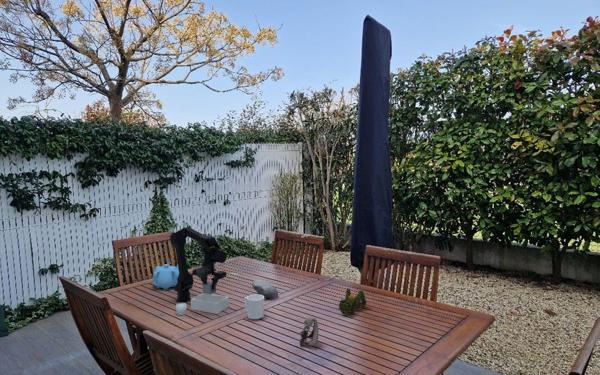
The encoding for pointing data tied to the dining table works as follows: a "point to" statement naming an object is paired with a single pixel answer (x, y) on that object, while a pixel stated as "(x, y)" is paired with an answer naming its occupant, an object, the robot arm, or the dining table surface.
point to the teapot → (165, 276)
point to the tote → (210, 303)
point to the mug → (255, 306)
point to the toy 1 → (314, 333)
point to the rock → (265, 289)
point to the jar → (180, 309)
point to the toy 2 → (352, 302)
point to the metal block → (208, 288)
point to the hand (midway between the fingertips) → (209, 288)
